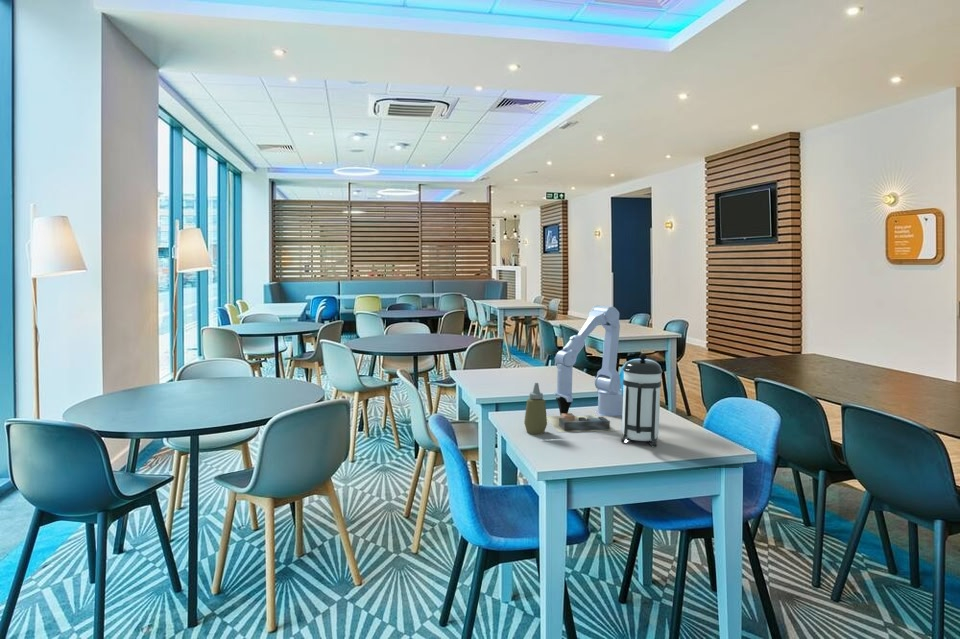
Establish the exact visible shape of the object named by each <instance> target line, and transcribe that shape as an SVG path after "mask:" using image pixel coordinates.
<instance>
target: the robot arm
mask: <svg viewBox="0 0 960 639" xmlns="http://www.w3.org/2000/svg"><path fill="white" fill-rule="evenodd" d="M598 326H601V327H603V328H604V330H605V333H604V345H603V346H604V347H603V355H602V362H601V365H602V366H601V368H600V369H599V370H598V371H597V373H596V377H595V380H594V386H595V389H596V390H597V392H598V393H597V394H598V395H597V396H598V399H597V410H594V413H597V415H599V417H607V416H608V417H610V416H612V417H615V416H622V414H623V393H621V392H620V390H621V388H622V382H621V374H620V372H619V371H617V361H618V360H617V359H618V350H619V341H620V332H621V331H620V330H621V324H620V312H619V310H618V309H617V308H616V307H615V306H604V305H601V306H600V305H595V306H593V307H592V309H591V310H590V311H589V312H588V317H587V320H586V321H585V322H584V324H583V326H582V327H581V329H580V331H578V333H577V334H574V335H572V336H570V337H569V340H568V342H567V343H566V344H565V345H564V346H563V347H562V349H561V350H558V352H557V353H555V357H554V362H555V364H556V368H557V372H556V373H557V374H556V375H557V377H556V382H557V383H556V390H555V391H556V392H553V395H554V396H558V397H555V400H556V402H557V405H558V409H559V416H561V413H569V410H570V408H571V404H572V403H573V400H574V399H573V398H574V397H573V392H572V391H573V368H574V367H573V366H574V365H575V364H576V363H577V357H578V354H580V352H581V350H582V349H583V348H584V346H585V344H586V339H587V338H588V337H589V336H590V334H591V333H592V332H593V331H594V330H595V328H597V327H598Z"/></svg>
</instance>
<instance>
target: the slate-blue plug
mask: <svg viewBox="0 0 960 639" xmlns="http://www.w3.org/2000/svg"><path fill="white" fill-rule="evenodd" d="M587 420H588V421H597V420H600V419H599V418H587Z"/></svg>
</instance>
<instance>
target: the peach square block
mask: <svg viewBox="0 0 960 639" xmlns="http://www.w3.org/2000/svg"><path fill="white" fill-rule="evenodd" d="M560 416H561V418H565V419H567V420H568V421H575V416H576V415H574V414H573V413H571V412H568V413H561V415H560Z"/></svg>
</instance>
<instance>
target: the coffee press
mask: <svg viewBox="0 0 960 639" xmlns="http://www.w3.org/2000/svg"><path fill="white" fill-rule="evenodd" d="M646 358H647V354H645V353H640V355H639V359H635V360H629V361H627V362H626V363H625V364H624V366H623V367H622V372H623V378H622V386H623V389H622V390H623V393H622V396H623V414H622V415H621V417H622V418H621V420H622V421H621V422H622V423H621V433H622V435H623V436H622V438H621V440H620V442H621V443H623V444H628V442H629V441H630V440H632V441H638V442H639V441H640V442H648V443H649V445H650V447H652V446H654V447H657V444H658V443H657V441H656V440H658V439H659V431H660V430H659V429H660V411H661V410H660V409H661V408H660V407H661V406H660V405H661V387H662V378H661V377H662V373H663V369H662V368H661V365H660V364H659V363H658V362H655V361H651V360H646Z"/></svg>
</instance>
